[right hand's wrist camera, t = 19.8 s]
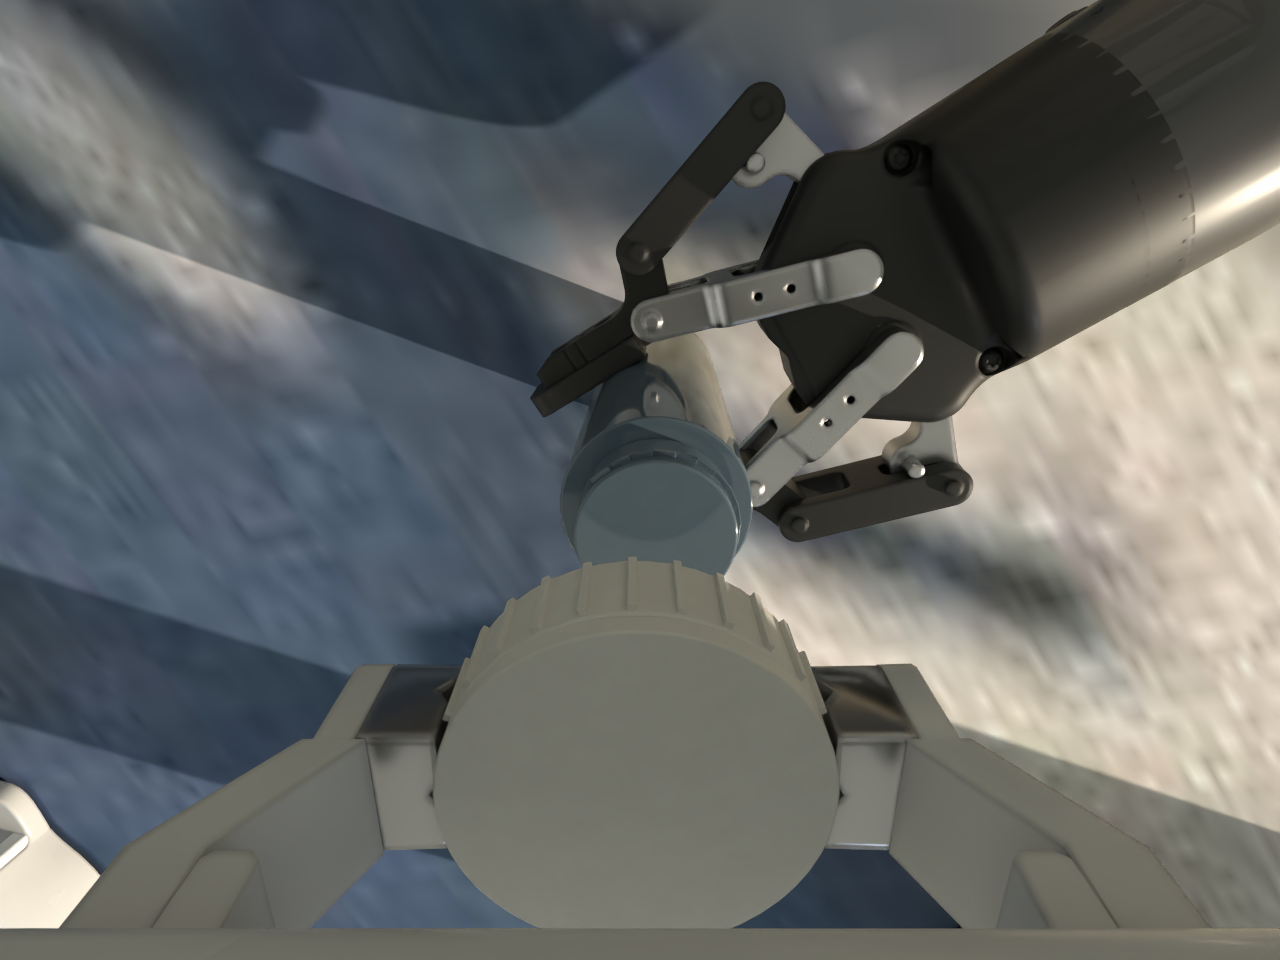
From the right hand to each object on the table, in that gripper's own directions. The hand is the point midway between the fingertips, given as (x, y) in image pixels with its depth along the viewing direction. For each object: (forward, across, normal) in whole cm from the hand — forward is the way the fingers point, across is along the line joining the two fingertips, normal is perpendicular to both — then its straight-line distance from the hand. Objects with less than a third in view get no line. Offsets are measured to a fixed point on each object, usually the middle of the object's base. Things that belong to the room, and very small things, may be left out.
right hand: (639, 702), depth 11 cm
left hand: (+13, -2, -1) cm, 14 cm away
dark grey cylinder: (+20, +1, 0) cm, 20 cm away
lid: (-2, 0, 0) cm, 2 cm away
